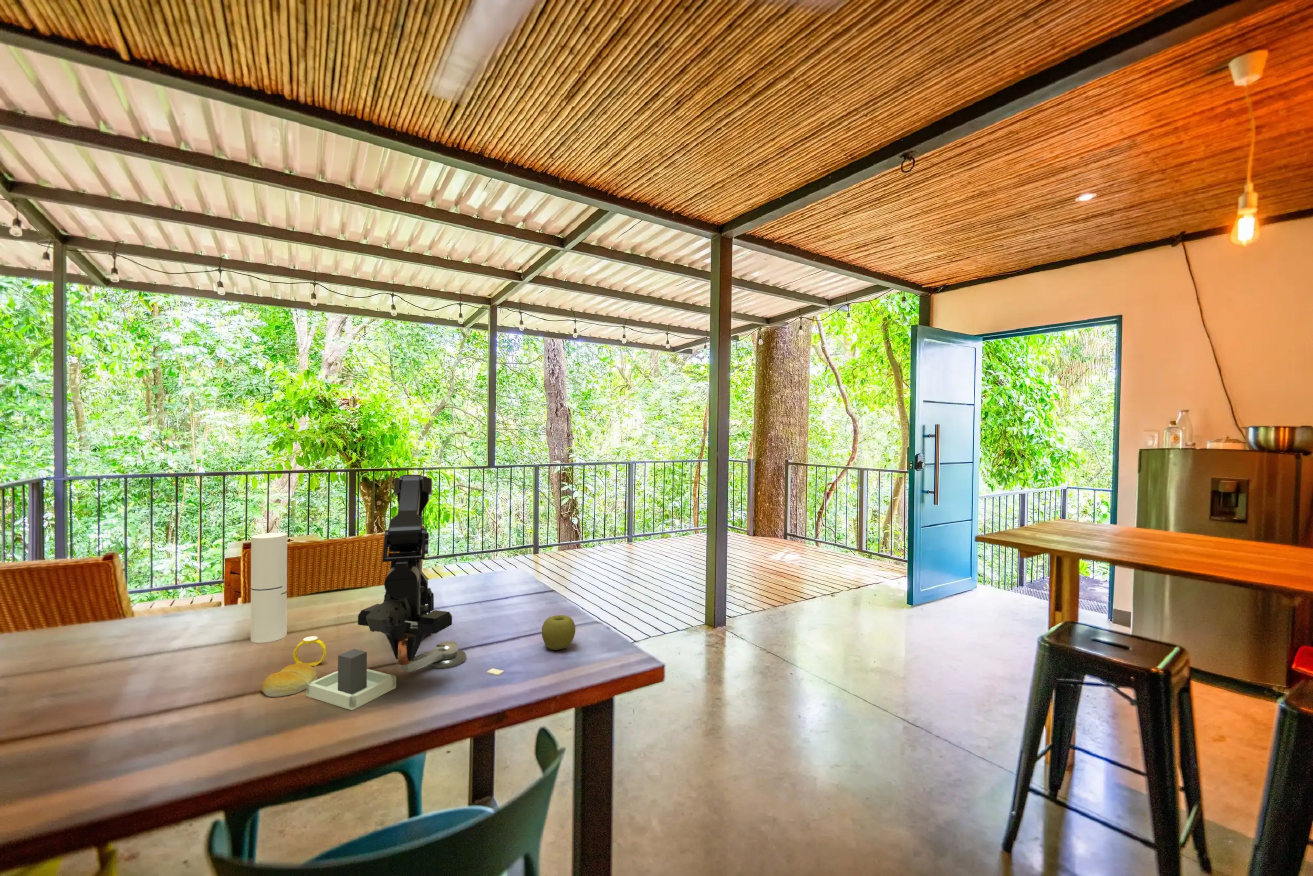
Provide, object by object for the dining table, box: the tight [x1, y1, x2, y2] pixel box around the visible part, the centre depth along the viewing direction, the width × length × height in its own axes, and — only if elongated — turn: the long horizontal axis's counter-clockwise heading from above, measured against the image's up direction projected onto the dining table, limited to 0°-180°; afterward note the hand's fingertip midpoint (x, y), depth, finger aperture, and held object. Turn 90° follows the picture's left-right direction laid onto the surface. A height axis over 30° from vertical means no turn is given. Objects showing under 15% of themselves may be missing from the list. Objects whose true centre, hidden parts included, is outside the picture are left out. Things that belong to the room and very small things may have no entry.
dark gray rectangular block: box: [337, 648, 368, 695], centre depth 106 cm, size 4×4×7 cm
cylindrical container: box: [250, 532, 288, 644], centre depth 132 cm, size 7×7×25 cm
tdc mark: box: [486, 667, 505, 677], centre depth 115 cm, size 3×2×1 cm, turn 67°
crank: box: [397, 637, 458, 673], centre depth 117 cm, size 14×4×7 cm, turn 147°
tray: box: [305, 668, 397, 711], centre depth 106 cm, size 10×13×2 cm
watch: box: [292, 635, 328, 667], centre depth 118 cm, size 6×3×6 cm, turn 106°
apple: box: [541, 614, 576, 651], centre depth 129 cm, size 8×8×7 cm
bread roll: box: [261, 662, 319, 698], centre depth 108 cm, size 8×9×4 cm
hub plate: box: [427, 649, 467, 670], centre depth 121 cm, size 8×8×1 cm
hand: (404, 659), depth 112 cm, fingers closed on crank, 3 cm apart
